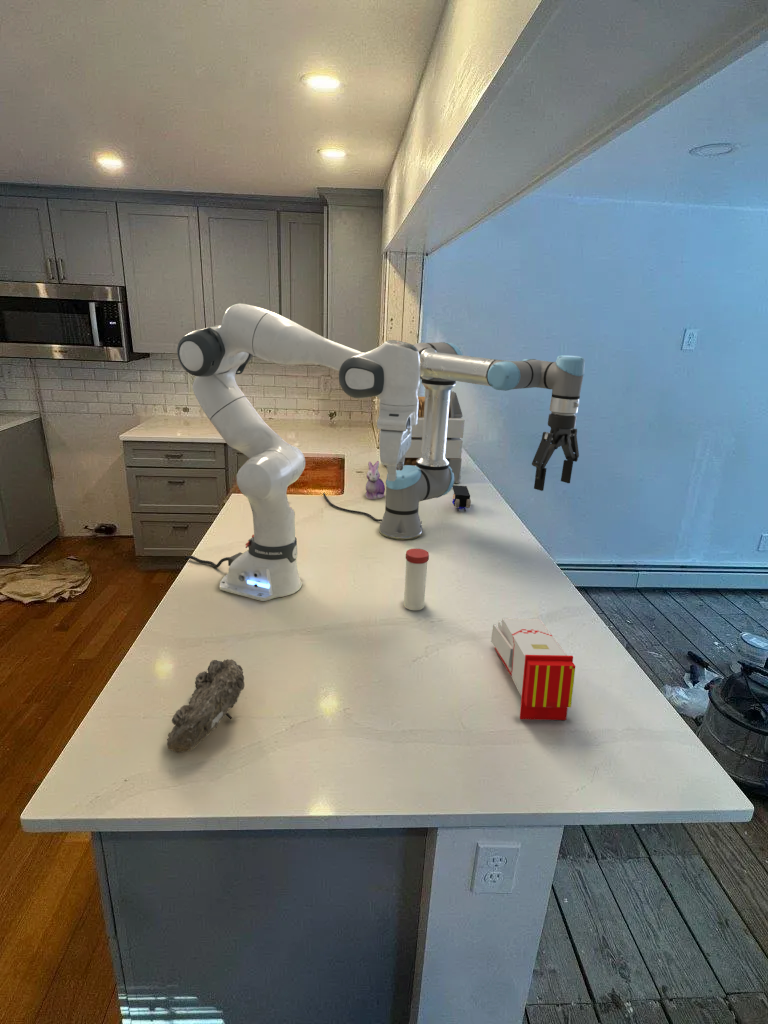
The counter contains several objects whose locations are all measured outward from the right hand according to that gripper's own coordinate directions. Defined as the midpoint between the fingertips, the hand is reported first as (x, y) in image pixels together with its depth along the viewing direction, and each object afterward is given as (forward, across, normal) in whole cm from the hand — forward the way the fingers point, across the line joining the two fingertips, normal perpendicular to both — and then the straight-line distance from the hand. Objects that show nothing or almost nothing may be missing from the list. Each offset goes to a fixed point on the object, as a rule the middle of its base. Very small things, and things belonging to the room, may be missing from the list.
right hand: (552, 485), depth 166 cm
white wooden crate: (+28, +46, +101) cm, 115 cm away
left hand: (-10, -55, +7) cm, 57 cm away
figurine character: (+28, +25, +55) cm, 67 cm away
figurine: (+28, +5, +85) cm, 90 cm away
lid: (+13, -46, +8) cm, 48 cm away
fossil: (+28, -107, 0) cm, 110 cm away
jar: (+28, -46, +8) cm, 54 cm away
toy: (+28, -48, -30) cm, 63 cm away
